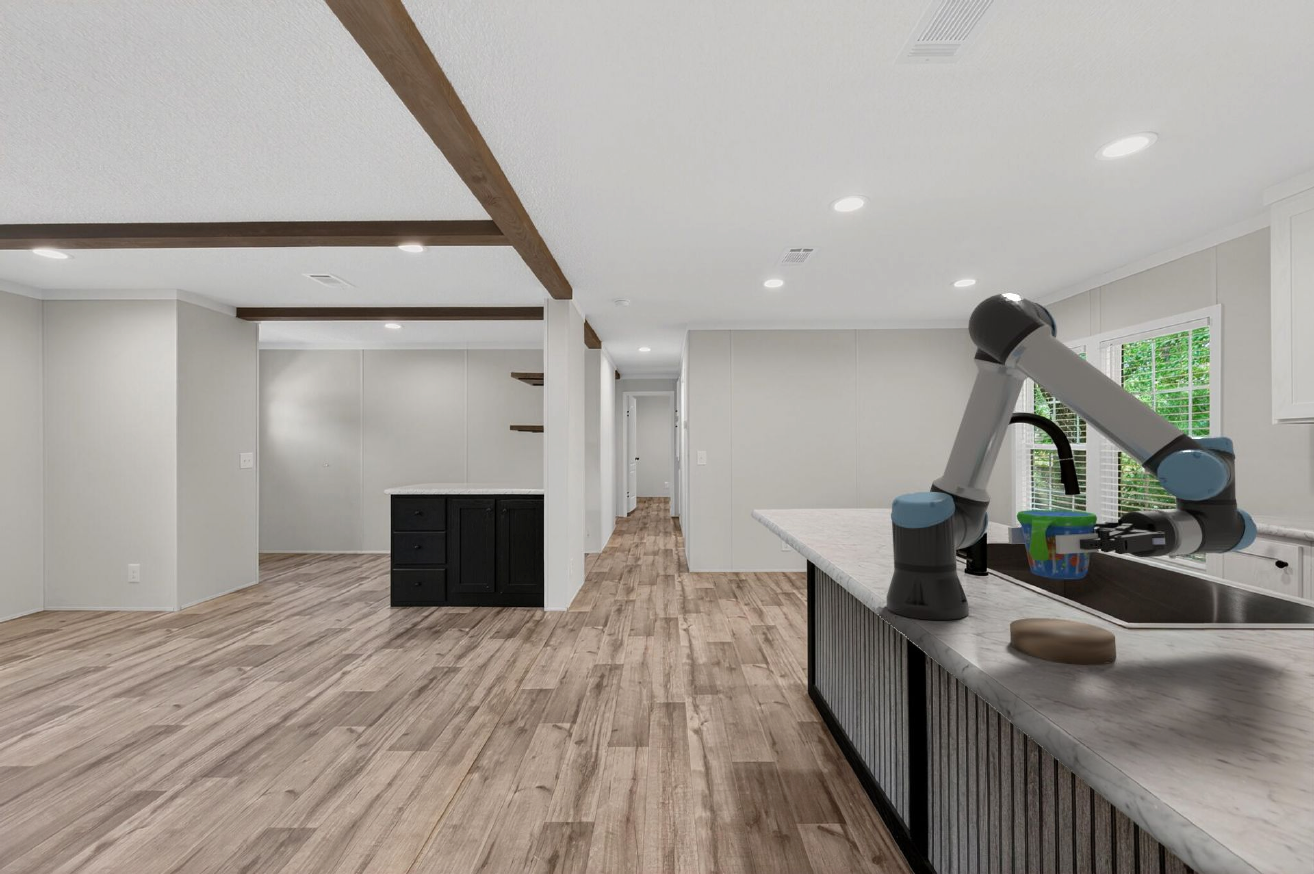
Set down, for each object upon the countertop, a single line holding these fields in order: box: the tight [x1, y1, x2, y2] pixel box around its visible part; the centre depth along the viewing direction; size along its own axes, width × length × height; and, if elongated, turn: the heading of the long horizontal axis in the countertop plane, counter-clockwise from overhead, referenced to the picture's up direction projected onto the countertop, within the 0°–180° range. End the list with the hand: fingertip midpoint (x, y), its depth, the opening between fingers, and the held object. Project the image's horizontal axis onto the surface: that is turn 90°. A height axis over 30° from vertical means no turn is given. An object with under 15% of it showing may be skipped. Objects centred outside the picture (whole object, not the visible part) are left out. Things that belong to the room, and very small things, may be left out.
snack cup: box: [1016, 509, 1098, 580], centre depth 96 cm, size 16×10×10 cm
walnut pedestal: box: [1009, 617, 1117, 666], centre depth 96 cm, size 14×14×3 cm
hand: (1032, 539), depth 95 cm, fingers closed on snack cup, 9 cm apart
